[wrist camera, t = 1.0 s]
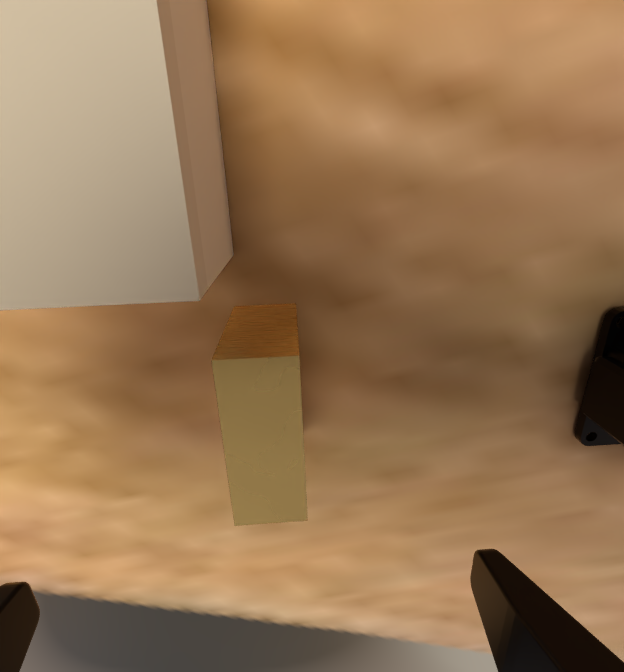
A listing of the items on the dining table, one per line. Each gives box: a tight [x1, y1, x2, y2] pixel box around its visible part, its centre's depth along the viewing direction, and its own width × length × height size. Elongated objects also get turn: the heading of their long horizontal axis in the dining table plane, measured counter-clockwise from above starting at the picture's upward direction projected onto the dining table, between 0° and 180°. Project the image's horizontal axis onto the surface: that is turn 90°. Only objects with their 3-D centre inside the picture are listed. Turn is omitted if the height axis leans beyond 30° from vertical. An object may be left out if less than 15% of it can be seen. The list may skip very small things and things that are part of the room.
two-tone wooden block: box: [211, 303, 308, 526], centre depth 14 cm, size 2×6×5 cm, turn 2°
